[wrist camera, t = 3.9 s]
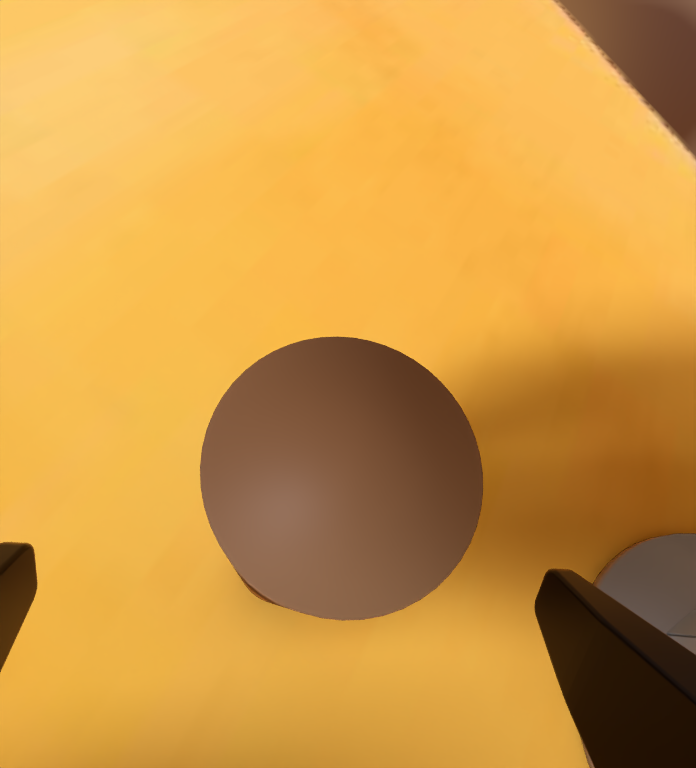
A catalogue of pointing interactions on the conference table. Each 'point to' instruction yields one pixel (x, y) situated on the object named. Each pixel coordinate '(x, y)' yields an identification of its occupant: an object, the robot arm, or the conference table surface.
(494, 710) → the conference table surface
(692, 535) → the grey flared collar base
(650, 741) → the robot arm
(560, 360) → the conference table surface
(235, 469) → the brown wooden dowel
